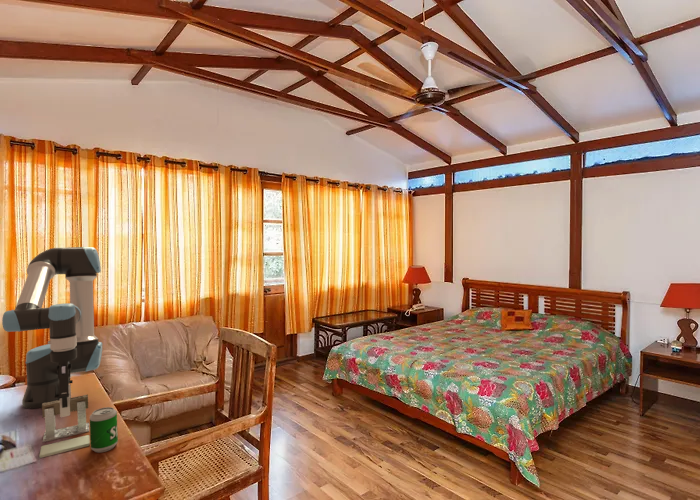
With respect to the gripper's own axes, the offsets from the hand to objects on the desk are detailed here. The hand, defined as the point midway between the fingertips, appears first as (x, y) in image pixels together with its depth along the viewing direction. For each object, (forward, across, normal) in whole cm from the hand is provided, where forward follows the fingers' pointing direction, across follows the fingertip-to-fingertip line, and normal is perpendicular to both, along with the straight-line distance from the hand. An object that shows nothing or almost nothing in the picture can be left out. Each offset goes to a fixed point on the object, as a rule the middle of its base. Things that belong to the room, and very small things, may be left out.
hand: (66, 409), depth 141 cm
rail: (+1, 0, 0) cm, 1 cm away
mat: (+8, +12, 0) cm, 15 cm away
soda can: (+8, +20, +10) cm, 24 cm away
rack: (+8, 0, 0) cm, 8 cm away
